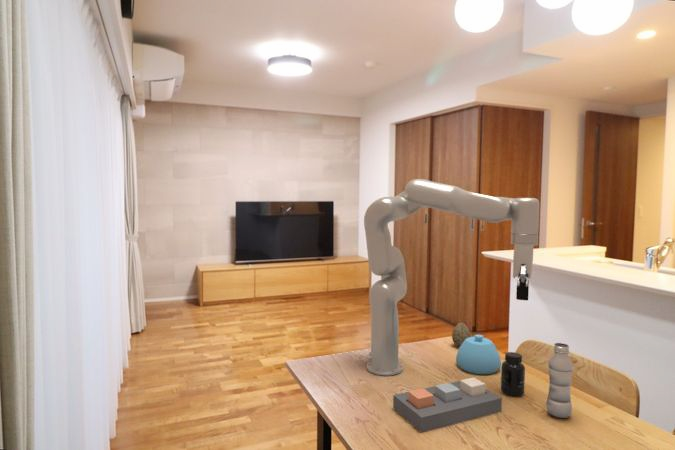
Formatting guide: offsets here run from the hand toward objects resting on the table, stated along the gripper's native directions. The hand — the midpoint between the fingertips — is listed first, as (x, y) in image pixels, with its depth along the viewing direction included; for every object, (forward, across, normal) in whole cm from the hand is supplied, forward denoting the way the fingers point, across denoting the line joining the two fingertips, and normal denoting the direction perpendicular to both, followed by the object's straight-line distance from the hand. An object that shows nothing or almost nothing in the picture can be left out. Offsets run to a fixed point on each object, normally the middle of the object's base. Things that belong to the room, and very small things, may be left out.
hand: (522, 296), depth 136 cm
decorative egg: (+31, -37, -22) cm, 53 cm away
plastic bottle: (+31, +9, +10) cm, 34 cm away
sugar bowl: (+31, -18, -14) cm, 38 cm away
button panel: (+31, +18, -19) cm, 40 cm away
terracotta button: (+29, +25, -25) cm, 45 cm away
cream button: (+28, +12, -13) cm, 33 cm away
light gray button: (+29, +18, -19) cm, 39 cm away
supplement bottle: (+31, -1, -2) cm, 31 cm away
